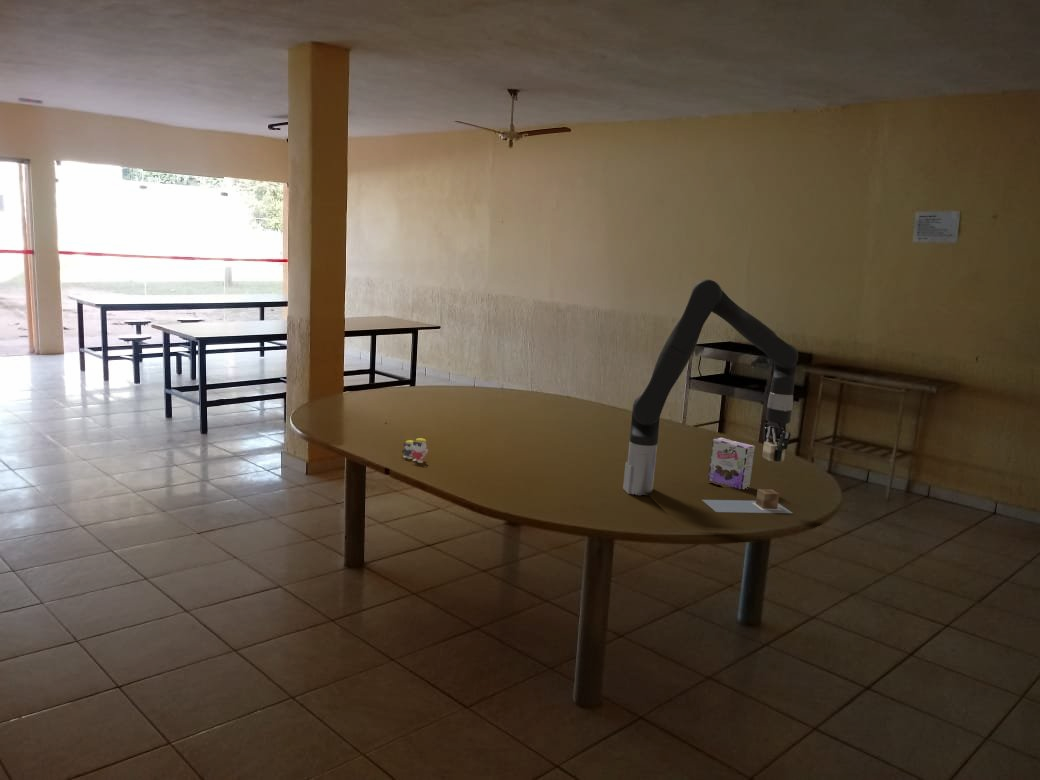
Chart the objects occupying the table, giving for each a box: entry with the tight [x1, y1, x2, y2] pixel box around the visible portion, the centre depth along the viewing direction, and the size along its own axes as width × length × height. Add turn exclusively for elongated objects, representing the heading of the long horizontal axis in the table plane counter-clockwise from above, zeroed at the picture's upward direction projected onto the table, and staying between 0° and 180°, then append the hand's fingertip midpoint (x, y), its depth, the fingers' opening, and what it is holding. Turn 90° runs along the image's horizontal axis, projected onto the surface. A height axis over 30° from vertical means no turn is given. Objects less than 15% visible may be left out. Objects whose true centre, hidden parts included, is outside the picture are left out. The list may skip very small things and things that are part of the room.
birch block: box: [761, 441, 786, 462], centre depth 254 cm, size 5×5×5 cm
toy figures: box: [401, 437, 429, 464], centre depth 286 cm, size 12×4×8 cm, turn 46°
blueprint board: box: [701, 499, 793, 514], centre depth 256 cm, size 26×12×1 cm, turn 100°
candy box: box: [707, 437, 756, 490], centre depth 280 cm, size 14×6×16 cm, turn 45°
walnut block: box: [755, 488, 780, 509], centre depth 257 cm, size 5×5×5 cm
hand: (772, 458), depth 254 cm, fingers closed on birch block, 5 cm apart
